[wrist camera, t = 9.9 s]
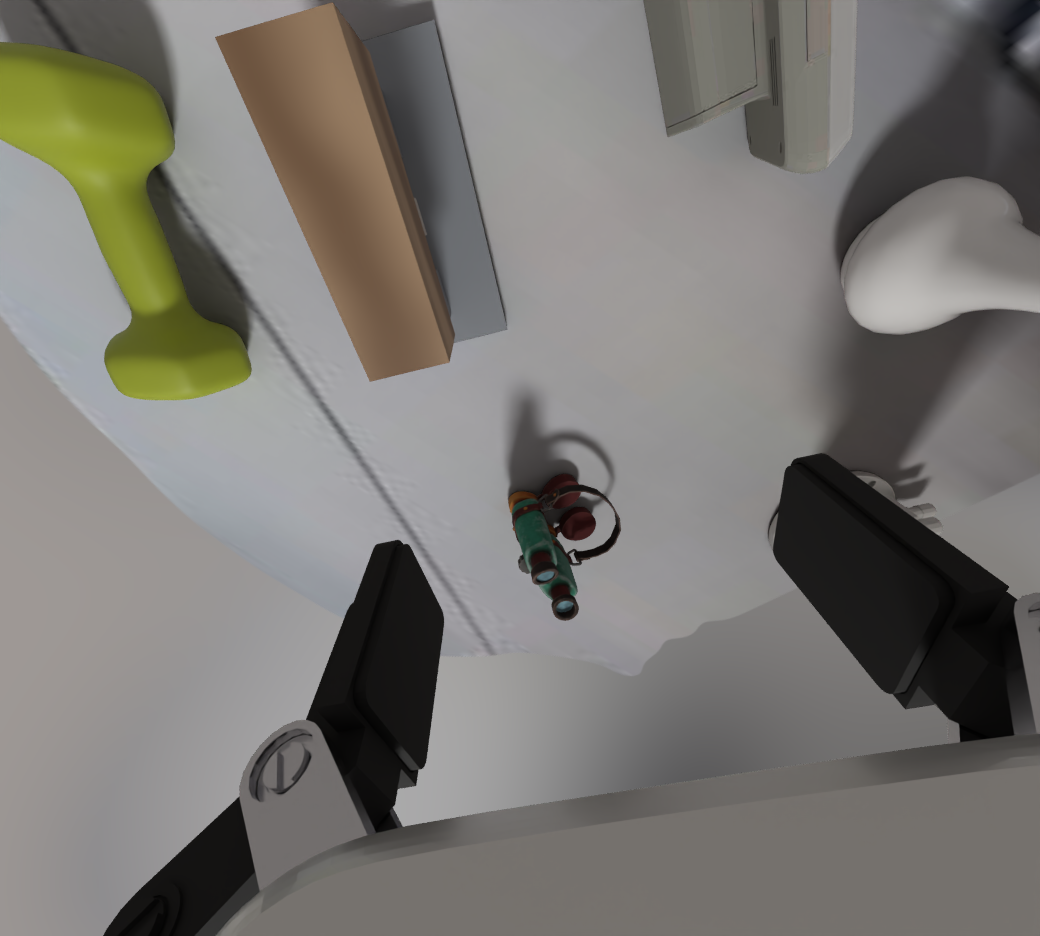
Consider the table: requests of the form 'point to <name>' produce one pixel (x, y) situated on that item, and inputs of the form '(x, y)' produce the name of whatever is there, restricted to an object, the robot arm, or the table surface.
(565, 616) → the binoculars
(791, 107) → the digital clock
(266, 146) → the tan bar
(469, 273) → the display stand
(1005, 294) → the flower vase
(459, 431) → the table surface
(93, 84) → the dumbbell
